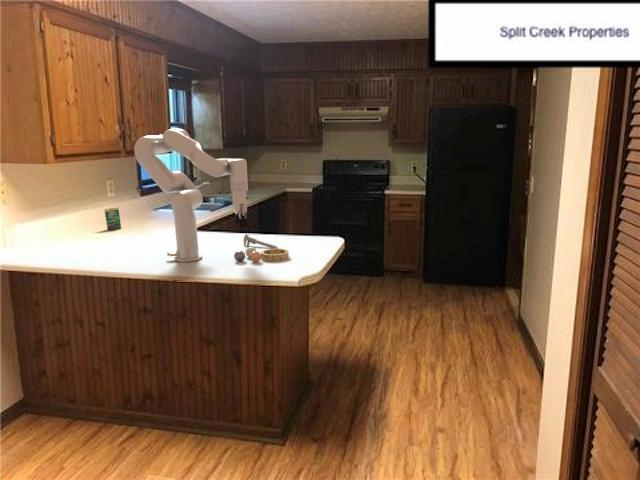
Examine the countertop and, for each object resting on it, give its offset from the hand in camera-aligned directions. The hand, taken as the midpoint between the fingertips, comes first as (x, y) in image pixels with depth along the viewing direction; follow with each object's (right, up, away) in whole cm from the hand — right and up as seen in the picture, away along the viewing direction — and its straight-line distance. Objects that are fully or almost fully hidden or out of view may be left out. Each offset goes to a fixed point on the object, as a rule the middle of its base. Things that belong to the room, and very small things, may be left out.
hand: (241, 225), depth 229 cm
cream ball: (+3, -12, +9) cm, 15 cm away
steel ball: (-1, -14, +1) cm, 14 cm away
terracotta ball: (+6, -14, 0) cm, 15 cm away
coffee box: (-92, 0, +88) cm, 128 cm away
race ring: (+14, -15, +7) cm, 22 cm away
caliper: (+5, -10, +30) cm, 32 cm away
